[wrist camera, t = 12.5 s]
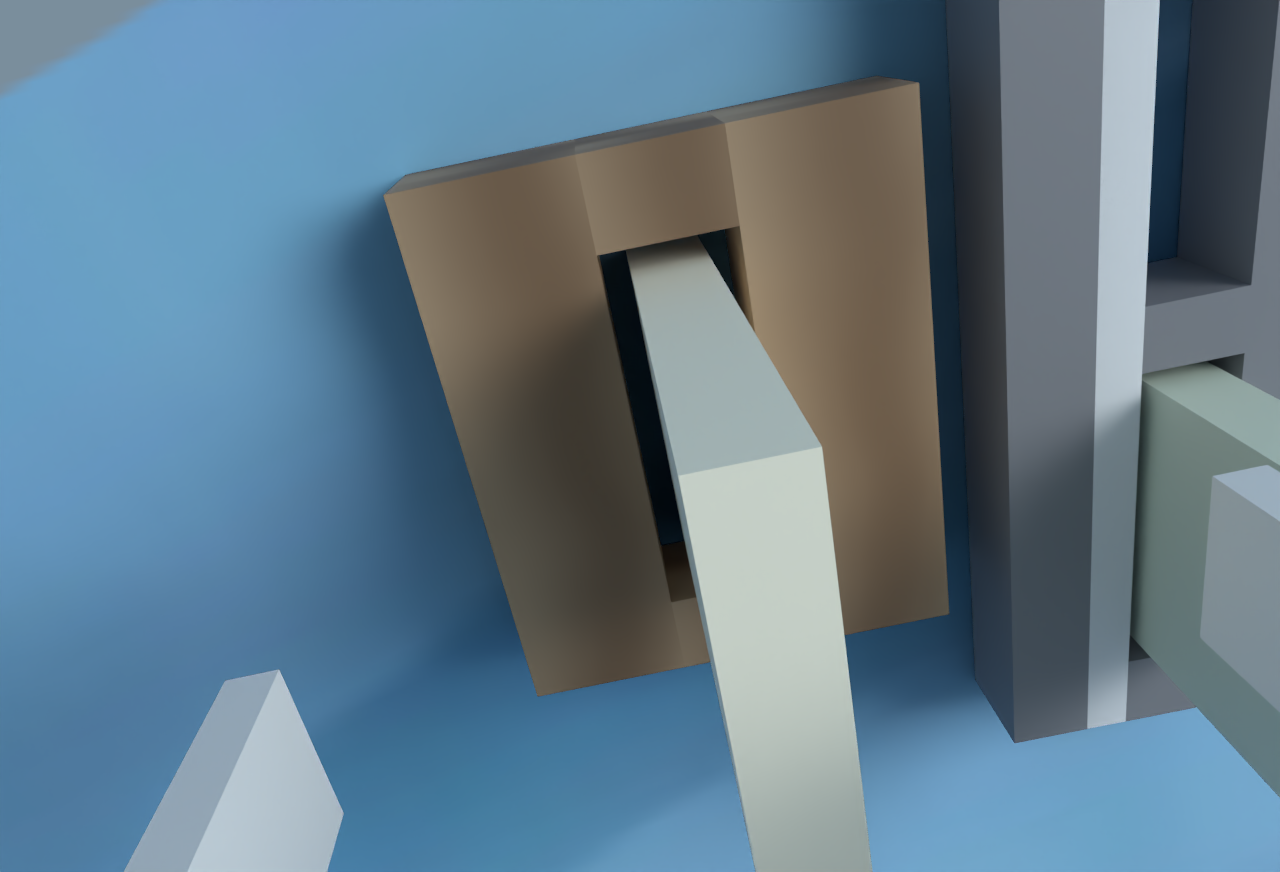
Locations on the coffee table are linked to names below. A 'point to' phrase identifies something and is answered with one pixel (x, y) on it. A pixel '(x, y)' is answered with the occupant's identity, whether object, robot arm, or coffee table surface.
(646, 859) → the coffee table surface
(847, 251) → the frame
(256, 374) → the coffee table surface
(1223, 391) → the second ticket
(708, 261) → the pale green slab
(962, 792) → the coffee table surface
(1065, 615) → the grey slotted plate
